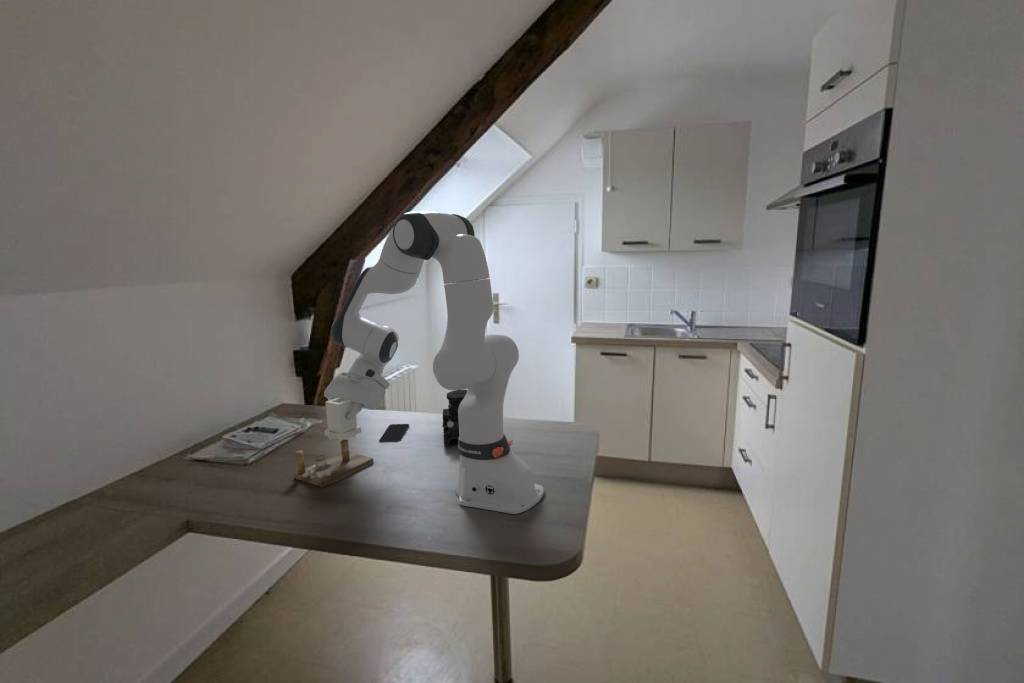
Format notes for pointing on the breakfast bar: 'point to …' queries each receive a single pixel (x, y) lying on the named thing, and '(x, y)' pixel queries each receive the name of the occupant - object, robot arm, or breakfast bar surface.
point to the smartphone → (394, 433)
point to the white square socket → (340, 420)
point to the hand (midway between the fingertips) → (339, 416)
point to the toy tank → (452, 415)
